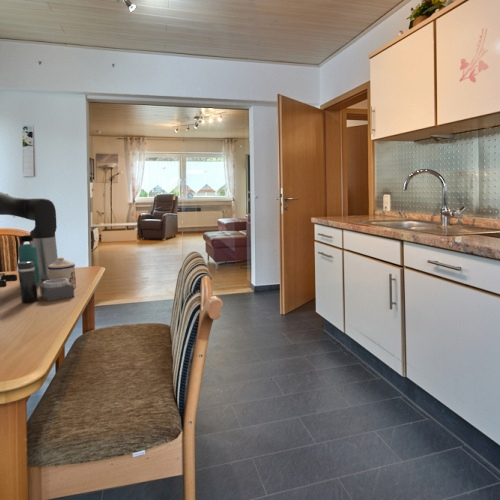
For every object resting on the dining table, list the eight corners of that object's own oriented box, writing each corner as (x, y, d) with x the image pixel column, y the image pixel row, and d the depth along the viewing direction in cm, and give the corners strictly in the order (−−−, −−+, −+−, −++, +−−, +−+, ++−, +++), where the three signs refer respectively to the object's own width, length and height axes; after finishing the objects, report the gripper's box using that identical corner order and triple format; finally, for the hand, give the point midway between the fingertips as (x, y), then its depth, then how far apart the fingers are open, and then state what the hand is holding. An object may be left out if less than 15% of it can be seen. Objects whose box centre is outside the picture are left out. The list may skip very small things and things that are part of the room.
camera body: (40, 296, 135) (38, 280, 134) (65, 291, 140) (64, 276, 140) (47, 301, 128) (46, 285, 127) (74, 296, 133) (72, 281, 132)
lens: (20, 301, 129) (15, 262, 127) (36, 298, 132) (31, 260, 130) (23, 304, 125) (18, 264, 123) (39, 301, 128) (35, 262, 126)
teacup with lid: (75, 290, 142) (72, 258, 140) (48, 292, 139) (44, 260, 138) (79, 282, 153) (76, 253, 152) (54, 285, 151) (51, 255, 149)
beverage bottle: (37, 284, 152) (31, 234, 149) (44, 287, 148) (39, 235, 145) (19, 288, 147) (12, 235, 144) (26, 290, 143) (20, 236, 140)
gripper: (-59, 277, 116) (0, 273, 119) (-34, 268, 130) (18, 265, 133) (-56, 301, 117) (3, 297, 120) (-31, 289, 131) (21, 286, 134)
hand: (11, 280), depth 127 cm, fingers open, 8 cm apart
